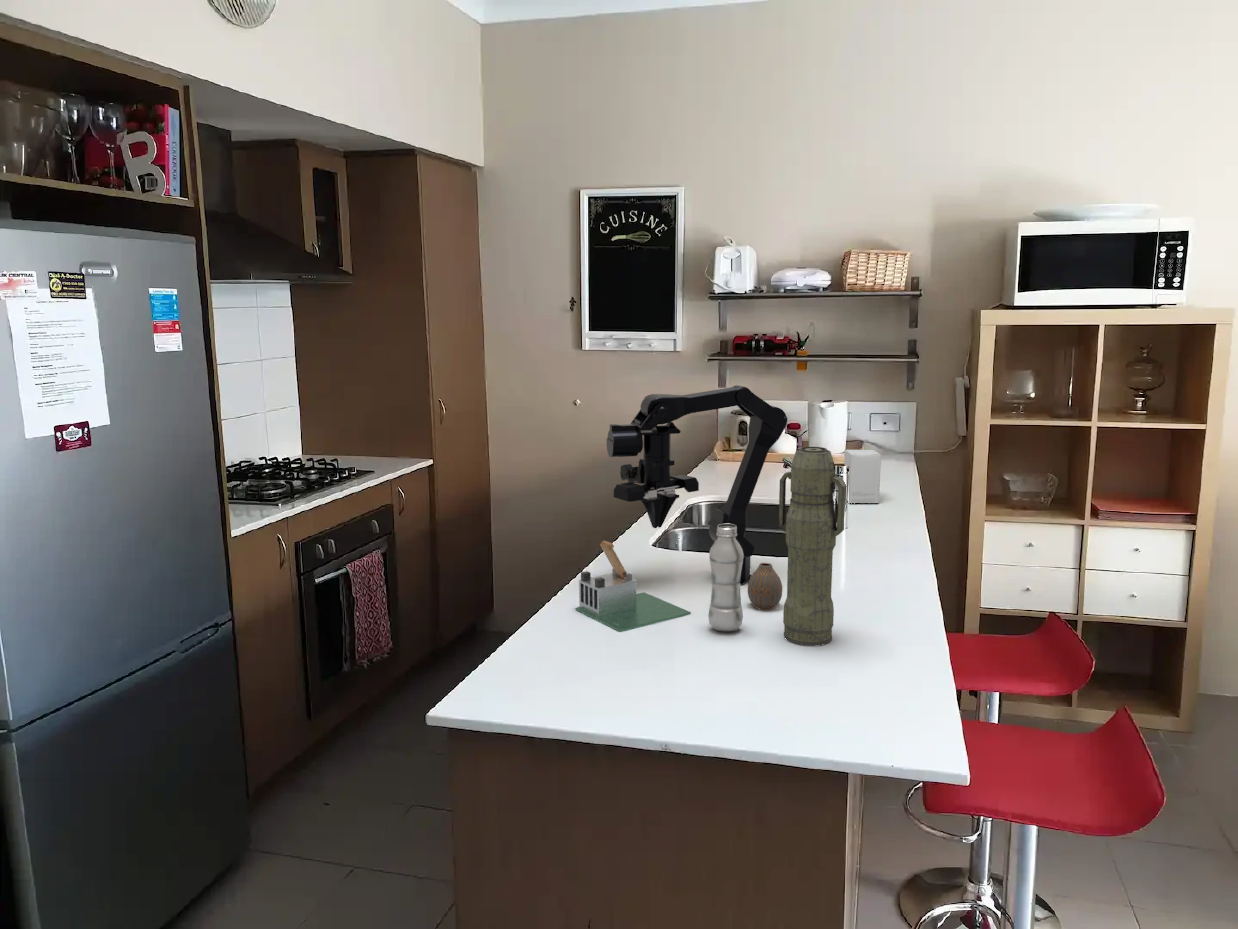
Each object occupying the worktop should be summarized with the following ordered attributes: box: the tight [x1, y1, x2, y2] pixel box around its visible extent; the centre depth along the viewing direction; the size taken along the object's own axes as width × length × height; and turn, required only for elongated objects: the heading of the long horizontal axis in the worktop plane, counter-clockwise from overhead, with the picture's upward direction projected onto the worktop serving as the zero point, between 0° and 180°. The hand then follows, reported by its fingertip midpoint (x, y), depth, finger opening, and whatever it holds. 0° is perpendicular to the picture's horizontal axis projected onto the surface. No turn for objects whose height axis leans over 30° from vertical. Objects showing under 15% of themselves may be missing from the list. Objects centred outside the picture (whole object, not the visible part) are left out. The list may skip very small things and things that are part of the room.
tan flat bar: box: [599, 540, 628, 579], centre depth 192 cm, size 8×3×1 cm
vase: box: [747, 562, 783, 610], centre depth 193 cm, size 7×7×9 cm
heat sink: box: [575, 568, 692, 633], centre depth 190 cm, size 17×16×8 cm
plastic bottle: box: [708, 524, 744, 632], centre depth 179 cm, size 6×7×20 cm
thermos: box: [778, 446, 847, 647], centre depth 173 cm, size 9×12×35 cm
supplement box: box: [843, 449, 882, 505], centre depth 286 cm, size 9×9×15 cm
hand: (656, 527), depth 205 cm, fingers closed
